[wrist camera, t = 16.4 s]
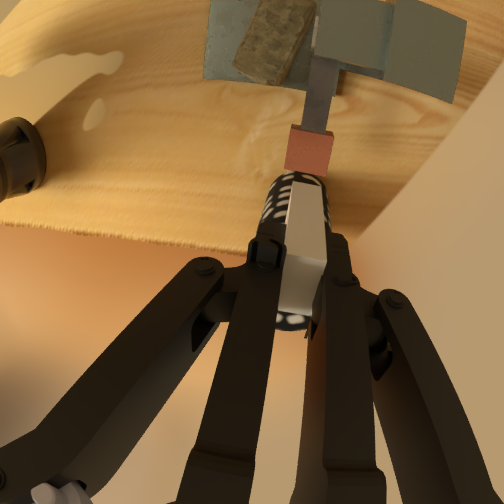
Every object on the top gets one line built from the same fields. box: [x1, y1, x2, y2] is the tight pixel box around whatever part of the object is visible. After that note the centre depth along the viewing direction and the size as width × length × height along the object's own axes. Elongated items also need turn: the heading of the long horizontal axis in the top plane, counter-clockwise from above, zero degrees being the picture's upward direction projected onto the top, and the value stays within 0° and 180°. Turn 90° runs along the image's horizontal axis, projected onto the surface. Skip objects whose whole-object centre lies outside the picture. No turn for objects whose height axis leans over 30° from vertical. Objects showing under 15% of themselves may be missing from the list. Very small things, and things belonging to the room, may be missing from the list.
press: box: [203, 0, 467, 104], centre depth 22 cm, size 20×12×24 cm, turn 83°
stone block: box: [232, 0, 317, 87], centre depth 28 cm, size 6×12×5 cm, turn 159°
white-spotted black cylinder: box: [255, 171, 332, 331], centre depth 35 cm, size 8×8×20 cm
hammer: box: [284, 16, 338, 177], centre depth 24 cm, size 4×13×9 cm, turn 173°
